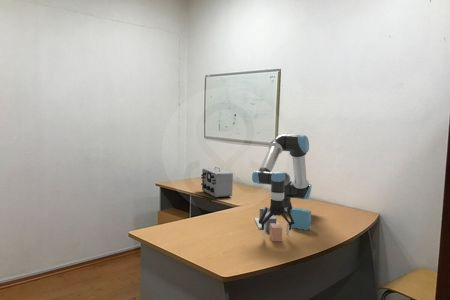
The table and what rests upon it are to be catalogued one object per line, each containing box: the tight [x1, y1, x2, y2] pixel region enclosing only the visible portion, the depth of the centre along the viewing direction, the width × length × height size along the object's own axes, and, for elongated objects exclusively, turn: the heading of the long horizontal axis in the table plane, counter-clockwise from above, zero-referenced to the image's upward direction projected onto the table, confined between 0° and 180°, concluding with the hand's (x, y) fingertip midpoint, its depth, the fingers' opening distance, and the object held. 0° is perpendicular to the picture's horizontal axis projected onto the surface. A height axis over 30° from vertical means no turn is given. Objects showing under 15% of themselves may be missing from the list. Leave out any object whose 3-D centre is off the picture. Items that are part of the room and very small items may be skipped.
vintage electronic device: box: [200, 166, 234, 199], centre depth 301 cm, size 32×18×25 cm, turn 25°
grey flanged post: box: [254, 207, 279, 232], centre depth 215 cm, size 14×24×10 cm, turn 3°
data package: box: [289, 207, 312, 231], centre depth 211 cm, size 12×4×12 cm, turn 58°
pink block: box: [269, 222, 283, 242], centre depth 190 cm, size 6×8×8 cm
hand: (275, 235), depth 189 cm, fingers open, 13 cm apart
